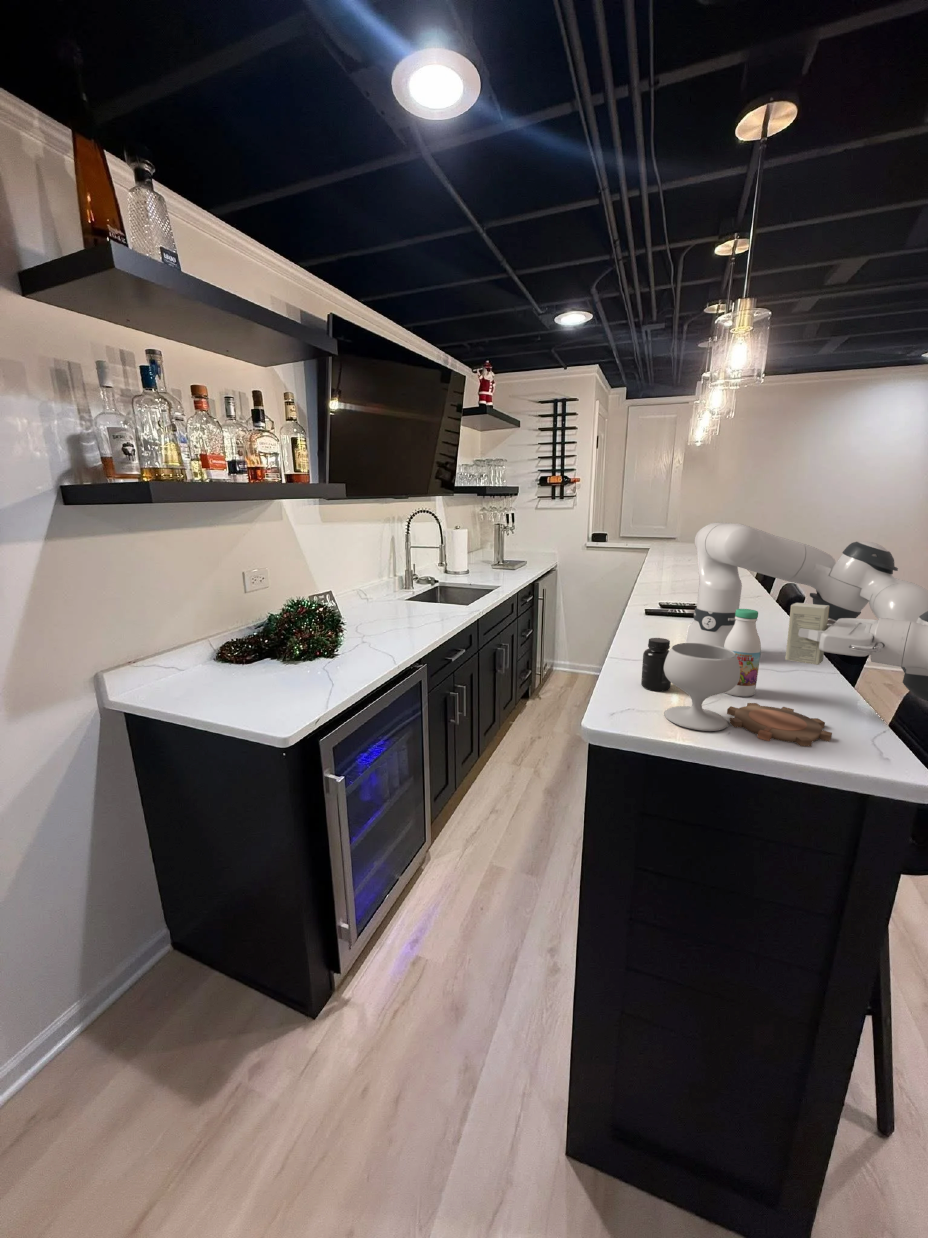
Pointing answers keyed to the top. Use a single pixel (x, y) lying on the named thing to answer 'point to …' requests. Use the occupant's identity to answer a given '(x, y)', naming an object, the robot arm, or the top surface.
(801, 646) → the skincare box
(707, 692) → the chalice
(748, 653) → the milk bottle
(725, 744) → the top surface
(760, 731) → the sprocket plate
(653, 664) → the supplement bottle
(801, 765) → the top surface
